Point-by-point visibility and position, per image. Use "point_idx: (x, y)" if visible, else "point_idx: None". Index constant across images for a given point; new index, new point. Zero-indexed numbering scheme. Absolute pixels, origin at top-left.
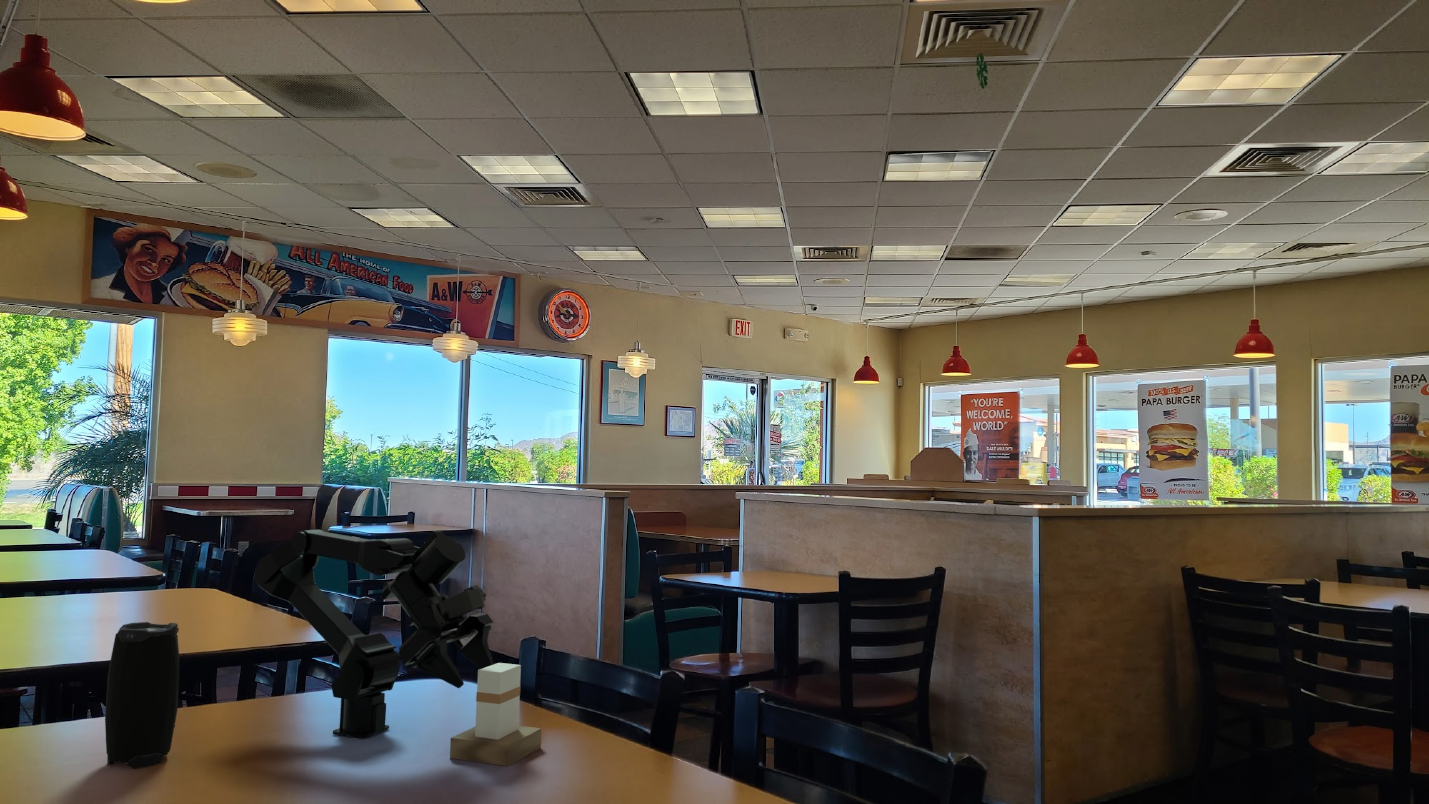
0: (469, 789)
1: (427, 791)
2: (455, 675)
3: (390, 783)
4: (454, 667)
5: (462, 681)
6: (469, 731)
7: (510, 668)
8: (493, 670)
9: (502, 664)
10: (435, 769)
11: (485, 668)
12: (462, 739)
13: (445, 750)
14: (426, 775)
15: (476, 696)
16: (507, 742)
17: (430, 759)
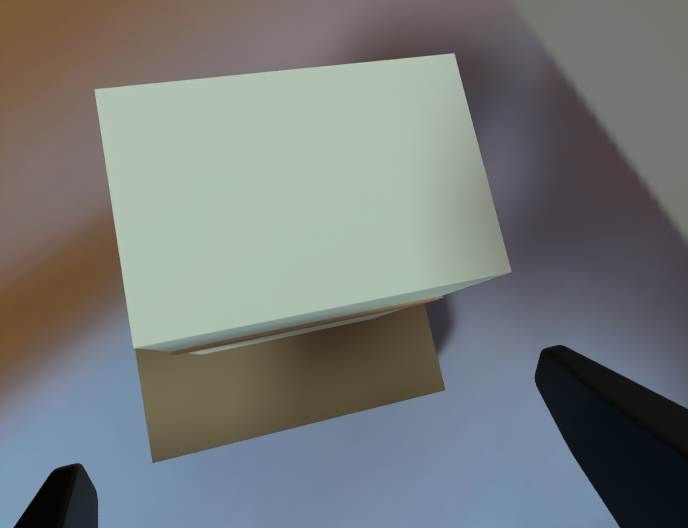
0: (574, 122)
1: (653, 205)
2: (641, 389)
3: (682, 343)
4: (681, 431)
5: (565, 351)
6: (332, 396)
7: (282, 79)
8: (436, 152)
9: (185, 253)
10: (525, 332)
11: (425, 262)
12: (431, 333)
13: (362, 475)
14: (577, 310)
15: (431, 301)
16: None
17: (468, 432)
